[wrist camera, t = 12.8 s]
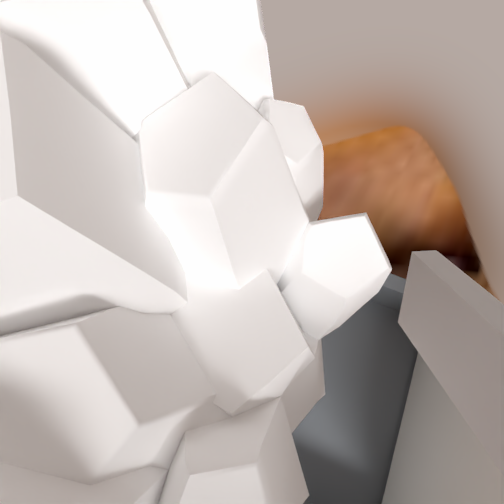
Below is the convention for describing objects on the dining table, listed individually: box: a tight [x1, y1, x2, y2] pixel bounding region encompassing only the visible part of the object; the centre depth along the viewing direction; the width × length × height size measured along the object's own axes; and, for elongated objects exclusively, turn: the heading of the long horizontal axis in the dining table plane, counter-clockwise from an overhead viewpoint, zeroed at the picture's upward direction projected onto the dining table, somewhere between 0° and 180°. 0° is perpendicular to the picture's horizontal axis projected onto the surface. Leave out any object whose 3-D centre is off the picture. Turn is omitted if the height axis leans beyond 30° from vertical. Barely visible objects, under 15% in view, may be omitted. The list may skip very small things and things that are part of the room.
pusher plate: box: [382, 352, 504, 504], centre depth 17 cm, size 2×13×10 cm, turn 157°
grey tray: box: [292, 273, 418, 504], centre depth 20 cm, size 24×16×9 cm, turn 67°
